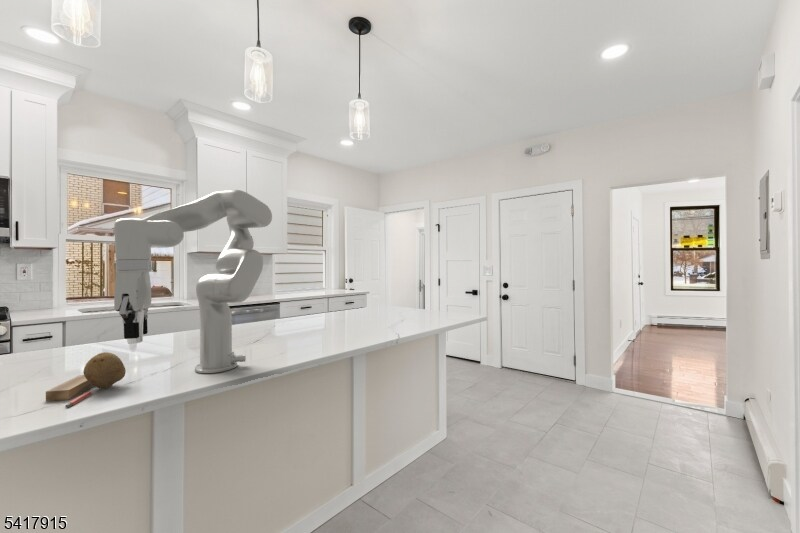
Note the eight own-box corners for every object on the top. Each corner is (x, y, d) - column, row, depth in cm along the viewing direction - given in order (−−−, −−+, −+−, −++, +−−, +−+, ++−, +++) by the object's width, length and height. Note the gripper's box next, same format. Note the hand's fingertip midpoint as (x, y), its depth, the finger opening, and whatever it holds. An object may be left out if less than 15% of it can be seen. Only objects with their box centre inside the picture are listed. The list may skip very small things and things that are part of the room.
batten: (99, 382, 107) (99, 373, 107) (69, 399, 93) (69, 389, 93) (79, 383, 106) (79, 375, 106) (45, 401, 92) (45, 391, 92)
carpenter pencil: (91, 394, 97) (91, 391, 97) (68, 407, 88) (68, 404, 88) (87, 394, 97) (87, 391, 97) (64, 408, 88) (64, 404, 88)
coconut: (79, 388, 102) (79, 353, 101) (118, 380, 109) (118, 347, 108) (88, 395, 96) (87, 358, 96) (128, 386, 103) (128, 351, 103)
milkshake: (136, 345, 92) (135, 306, 91) (119, 344, 93) (117, 305, 92) (152, 340, 96) (151, 303, 96) (135, 339, 97) (134, 302, 97)
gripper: (132, 265, 101) (134, 330, 102) (98, 267, 85) (101, 344, 86) (162, 265, 103) (164, 329, 104) (135, 267, 87) (137, 342, 87)
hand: (136, 335), depth 95 cm, fingers closed on milkshake, 4 cm apart
